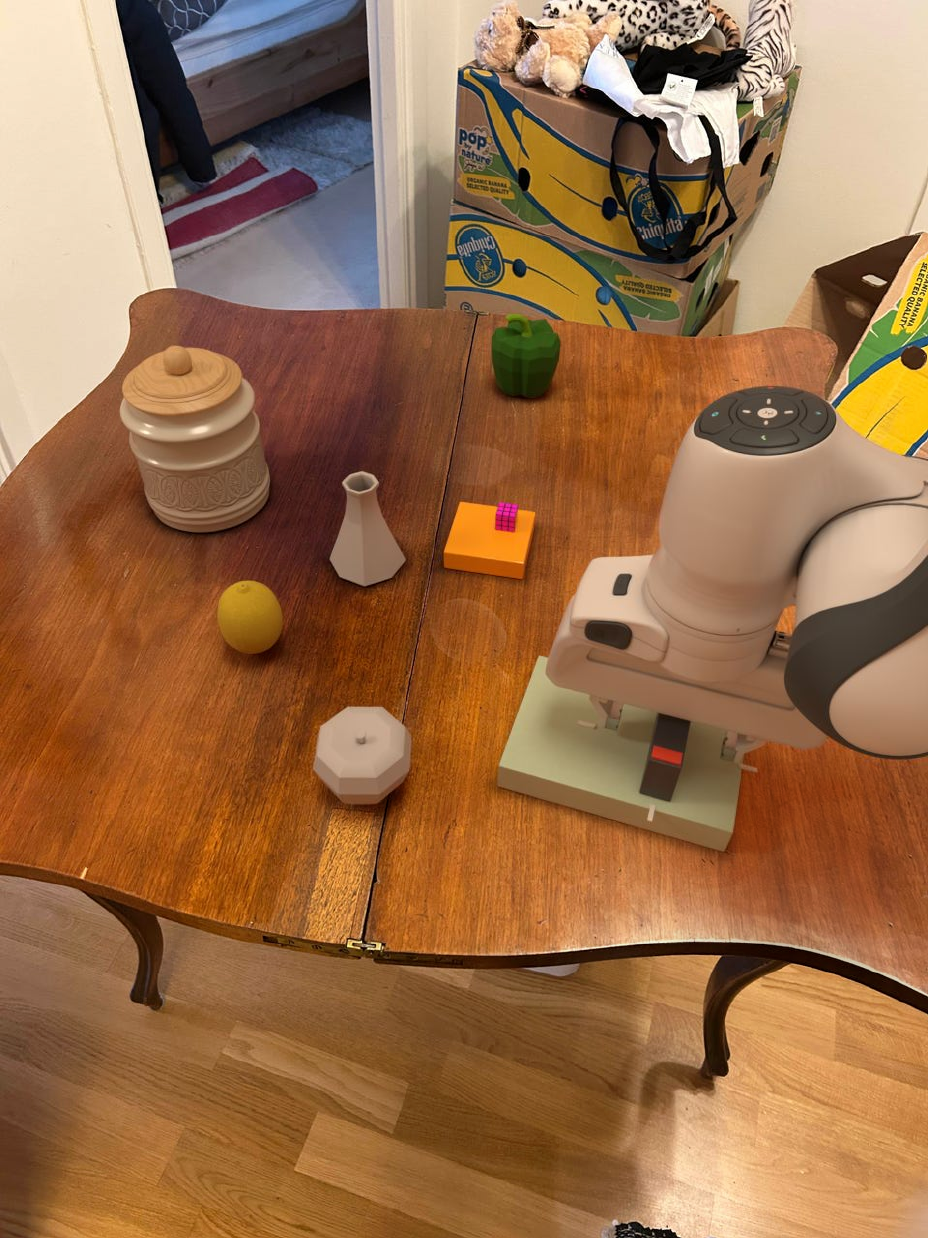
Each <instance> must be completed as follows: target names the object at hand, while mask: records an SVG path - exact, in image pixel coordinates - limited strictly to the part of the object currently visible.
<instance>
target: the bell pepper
mask: <svg viewBox="0 0 928 1238" xmlns="http://www.w3.org/2000/svg"><path fill="white" fill-rule="evenodd" d="M505 319H506V321H507V323H508V324H507V326H499V327H496V328H495V329H494V331H493V333H492V335H491V363H492V368H493V373H494V379H495V381H496V384H497V386H498V388H499V389H500V390H501V391H502V392H503V393H504V394H505V395H507V396H512V397H517V396H519V395H521V396H522V397H524V398H528V399H534V398H538V397H540V396H541V397H542V395H543V394H544V393H545V392H546V390H547V389H548V388H549V387H550V385H551V384H552V381H553V379H554V377H555V373H556V371H557V367H558V364H559V362H560V353H561V347H562V345H561V343H562V342H561V339H560V336H559V334H558V332H554V330H553V327H552V326H551V324H550V323H549V322H548V320H547V319H546V318H543V319H542V318H541V319H534V320H532V319H528V318H527V317H526V316H525V315H523V314H521V313H510V314H507V315H505Z"/></svg>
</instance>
